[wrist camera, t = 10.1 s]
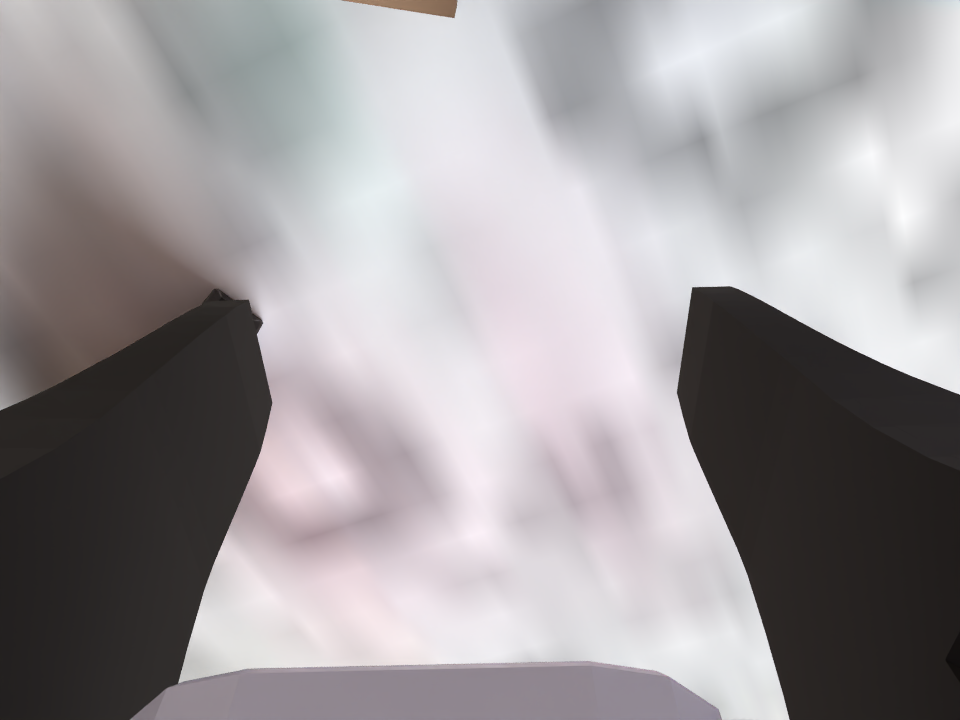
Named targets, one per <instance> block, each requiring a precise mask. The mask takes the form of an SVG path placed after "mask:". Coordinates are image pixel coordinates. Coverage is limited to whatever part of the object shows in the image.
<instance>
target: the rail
mask: <svg viewBox="0 0 960 720" xmlns="http://www.w3.org/2000/svg"><path fill="white" fill-rule="evenodd" d="M343 1H349V2H356V3H362V4H368V5H375V6H381V7H388V8H394V9H400V10H407V11H413V12H419V13H426V14H432V15H439V16H445V17H451V18H454V17H455V12H456V8H457V0H343Z"/></svg>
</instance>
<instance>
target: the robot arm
mask: <svg viewBox="0 0 960 720" xmlns="http://www.w3.org/2000/svg"><path fill="white" fill-rule="evenodd" d="M677 394H678V398H679V402H680V406H681V410H682V414H683V418H684V422H685V425H686V429H687V432H688V436H689V439H690V442H691V445H692V447H693V449H694V452H695V454H696V457H697V459H698V461H699V463H700V466H701V468H702V470H703V473H704V475H705V477H706V480H707V482H708V484H709V486H710V488H711V491H712V493H713V495H714V497H715V500H716V502H717V504H718V506H719V509H720V511H721V513H722V515H723V518H724V520H725V522H726V524H727V527H728V529H729V531H730V533H731V536H732V538H733V540H734V542H735V545H736V547H737V549H738V552H739V554H740V557H741V559H742V562H743V564H744V567H745V570H746V572H747V575H748V578H749V581H750V584H751V587H752V591H753V594H754V597H755V600H756V603H757V607H758V610H759V613H760V616H761V619H762V623H763V626H764V629H765V632H766V636H767V639H768V643H769V646H770V650H771V653H772V657H773V660H774V664H775V667H776V671H777V674H778V678H779V681H780V685H781V688H782V692H783V696H784V699H785V703H786V707H787V711H788V715H789V719H790V720H960V395H959V394H956V393H954V392H951V391H948V390H946V389H943V388H941V387H938V386H936V385H933V384H930V383H928V382H925V381H923V380H920V379H917V378H915V377H912V376H910V375H907V374H905V373H903V372H900V371H898V370H896V369H893V368H891V367H889V366H887V365H884V364H882V363H880V362H878V361H876V360H874V359H872V358H870V357H867V356H865V355H863V354H861V353H859V352H857V351H855V350H853V349H851V348H849V347H847V346H845V345H843V344H841V343H839V342H837V341H835V340H833V339H831V338H829V337H827V336H825V335H823V334H821V333H820V332H818V331H816V330H814V329H812V328H810V327H808V326H807V325H805V324H803V323H801V322H799V321H797V320H796V319H794V318H792V317H790V316H788V315H787V314H785V313H783V312H781V311H779V310H777V309H776V308H774V307H772V306H770V305H768V304H767V303H765V302H763V301H761V300H759V299H757V298H755V297H753V296H751V295H749V294H747V293H745V292H743V291H741V290H739V289H736V288H733V287H730V286H728V287H692V293H691V300H690V307H689V314H688V320H687V327H686V334H685V341H684V348H683V355H682V361H681V368H680V375H679V382H678V389H677ZM271 406H272V399H271V395H270V391H269V386H268V382H267V377H266V373H265V369H264V364H263V360H262V356H261V351H260V347H259V342H258V338H257V334H256V329H255V325H254V320H253V316H252V312H251V307H250V303H249V300H228V301H210V302H208V303H205V304H203V305H201V306H199V307H196V308H194V309H193V310H191V311H189V312H187V313H185V314H183V315H181V316H180V317H178V318H176V319H174V320H173V321H171V322H169V323H167V324H166V325H164V326H162V327H160V328H159V329H157V330H155V331H154V332H152V333H150V334H148V335H147V336H145V337H143V338H142V339H140V340H138V341H136V342H135V343H133V344H131V345H130V346H128V347H126V348H124V349H123V350H121V351H119V352H117V353H116V354H114V355H112V356H110V357H108V358H106V359H105V360H103V361H101V362H99V363H97V364H95V365H93V366H91V367H90V368H88V369H86V370H84V371H82V372H80V373H78V374H77V375H75V376H73V377H71V378H69V379H67V380H65V381H63V382H62V383H60V384H58V385H56V386H53V387H51V388H49V389H47V390H45V391H43V392H41V393H39V394H37V395H35V396H33V397H30V398H28V399H26V400H24V401H21V402H19V403H17V404H14V405H12V406H10V407H8V408H5V409H3V410H1V411H0V720H722V719H721V715H720V712H719V709H717V708H716V707H714V706H713V705H711V704H710V703H708V702H707V701H705V700H704V699H702V698H701V697H699V696H698V695H696V694H695V693H693V692H692V691H690V690H688V689H687V688H685V687H684V686H682V685H681V684H679V683H678V682H676V681H675V680H673V679H672V678H670V677H669V676H666V675H664V674H662V673H660V672H657V671H653V670H646V669H639V668H632V667H625V666H618V665H611V664H604V663H598V662H591V661H572V662H528V663H483V664H438V665H394V666H349V667H304V668H260V669H245V670H240V671H235V672H230V673H225V674H220V675H215V676H209V677H204V678H199V679H194V680H189V681H184V682H181V683H179V684H178V682H179V678H180V674H181V670H182V666H183V663H184V659H185V655H186V651H187V647H188V644H189V640H190V637H191V633H192V630H193V627H194V623H195V620H196V616H197V613H198V609H199V606H200V603H201V599H202V596H203V592H204V589H205V586H206V583H207V581H208V578H209V575H210V572H211V570H212V567H213V564H214V562H215V559H216V557H217V555H218V552H219V550H220V548H221V545H222V543H223V540H224V538H225V536H226V533H227V531H228V529H229V526H230V524H231V522H232V519H233V517H234V515H235V512H236V510H237V507H238V505H239V503H240V500H241V498H242V496H243V493H244V491H245V489H246V486H247V484H248V481H249V479H250V476H251V474H252V472H253V469H254V467H255V464H256V462H257V459H258V457H259V454H260V451H261V448H262V444H263V440H264V436H265V432H266V428H267V424H268V420H269V415H270V411H271Z"/></svg>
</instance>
